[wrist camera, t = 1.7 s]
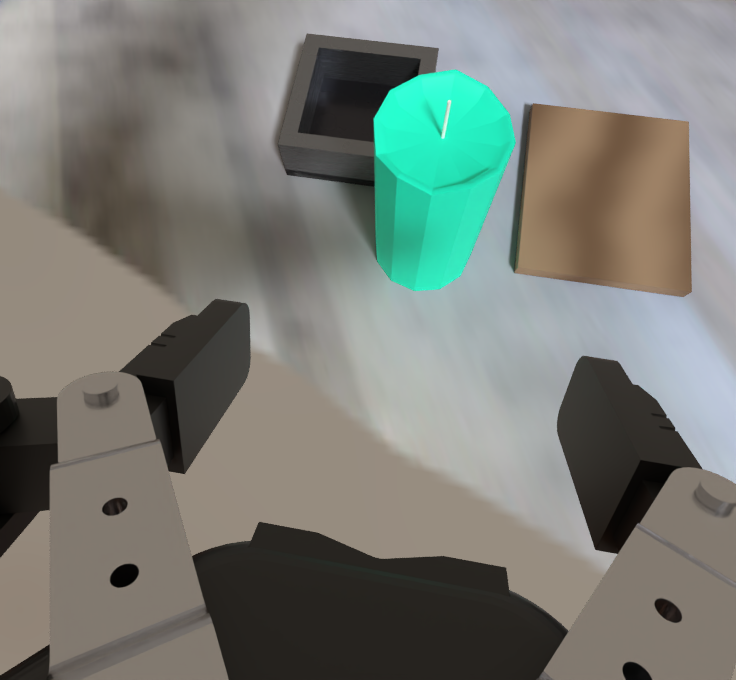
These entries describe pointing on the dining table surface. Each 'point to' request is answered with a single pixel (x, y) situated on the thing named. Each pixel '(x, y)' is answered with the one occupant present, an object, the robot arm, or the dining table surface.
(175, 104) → the dining table surface
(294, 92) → the box
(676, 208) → the walnut board
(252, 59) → the dining table surface
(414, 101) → the candle
